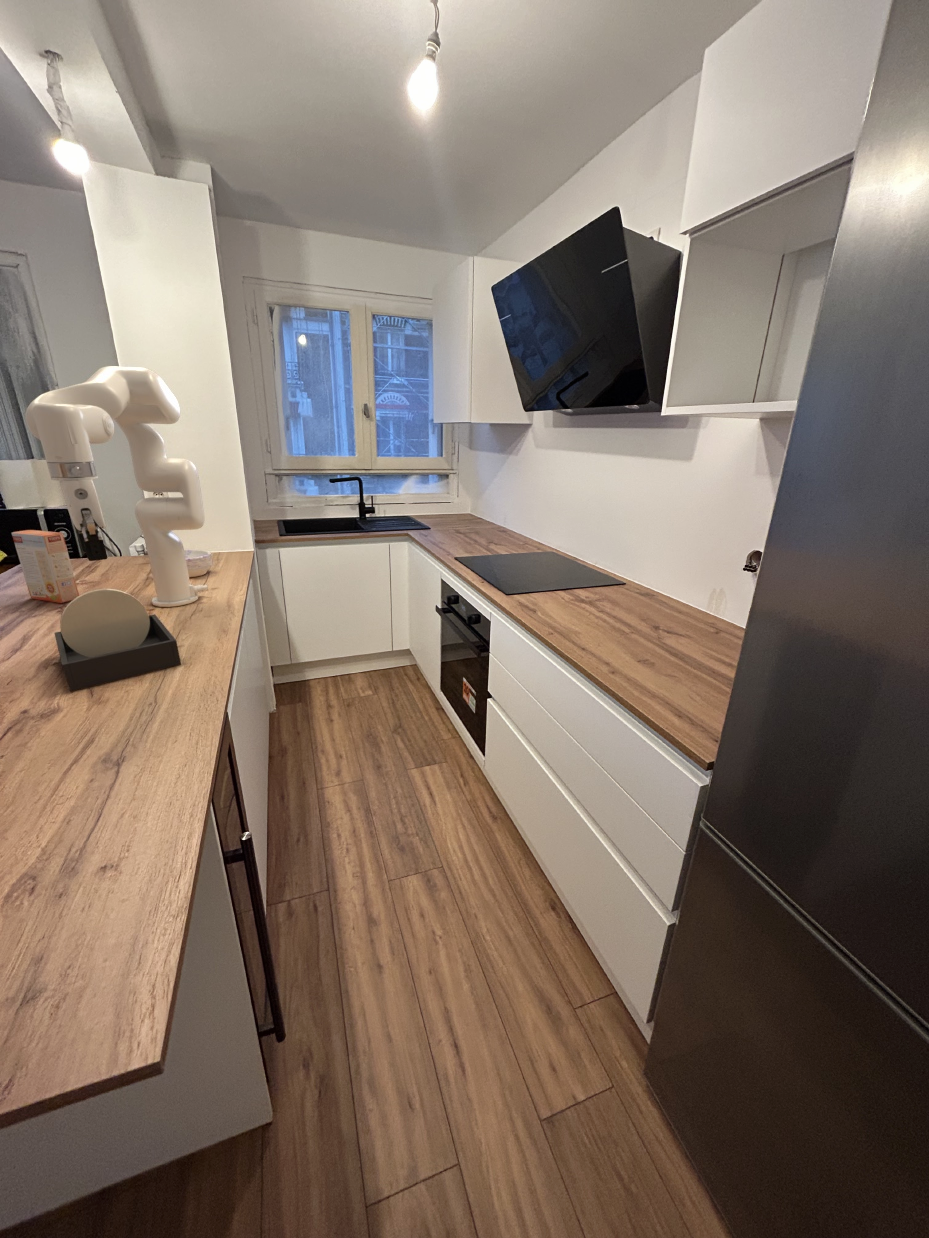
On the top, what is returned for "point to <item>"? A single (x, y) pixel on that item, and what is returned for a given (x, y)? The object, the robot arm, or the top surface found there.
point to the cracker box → (46, 565)
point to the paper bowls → (198, 562)
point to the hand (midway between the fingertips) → (95, 555)
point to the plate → (104, 622)
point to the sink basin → (120, 659)
